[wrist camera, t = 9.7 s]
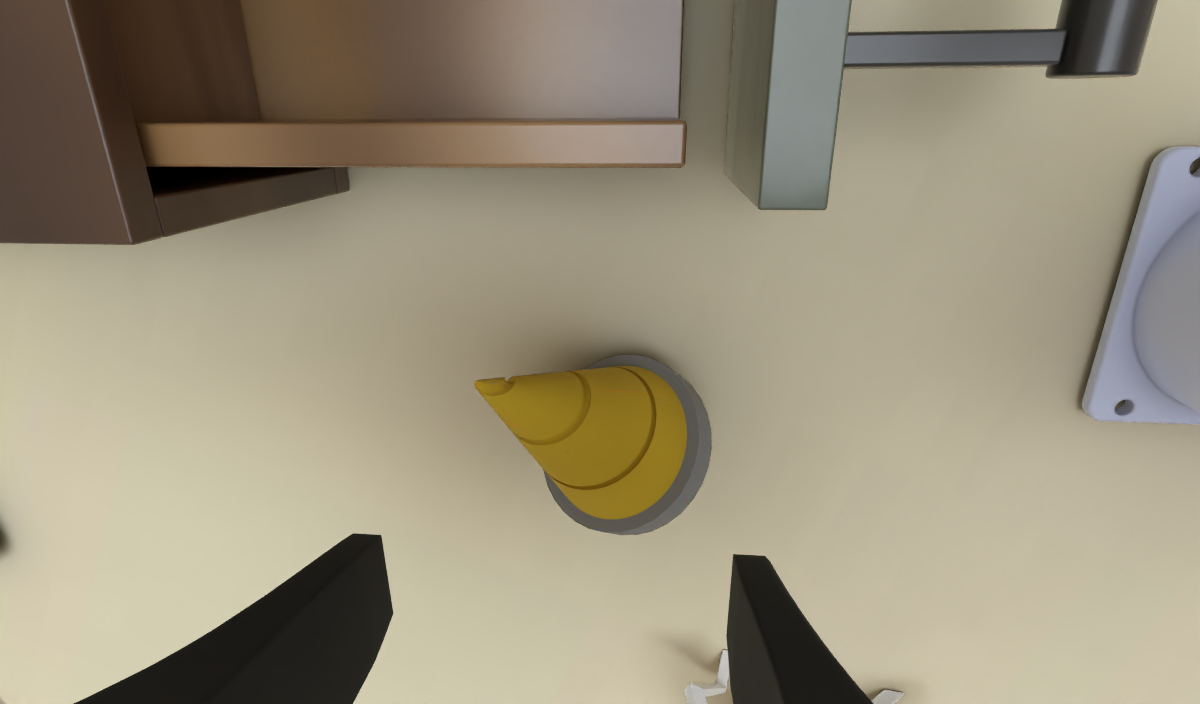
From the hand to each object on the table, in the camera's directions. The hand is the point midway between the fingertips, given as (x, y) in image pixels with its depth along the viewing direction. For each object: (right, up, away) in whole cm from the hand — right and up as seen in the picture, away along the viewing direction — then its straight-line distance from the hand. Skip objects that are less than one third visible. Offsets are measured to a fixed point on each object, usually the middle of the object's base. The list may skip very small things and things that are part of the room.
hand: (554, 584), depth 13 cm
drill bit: (+1, +3, +9) cm, 9 cm away
